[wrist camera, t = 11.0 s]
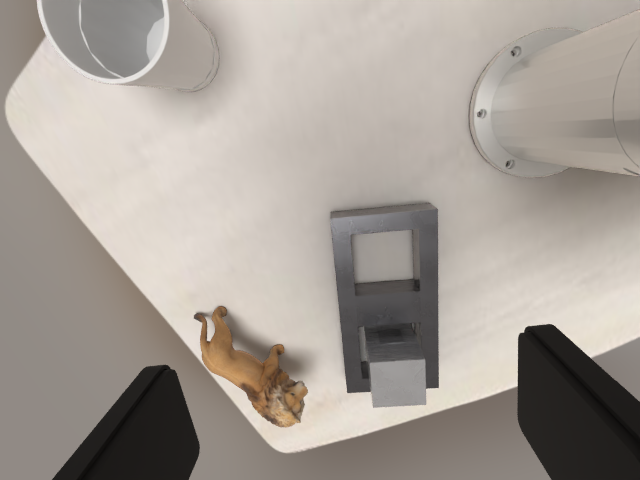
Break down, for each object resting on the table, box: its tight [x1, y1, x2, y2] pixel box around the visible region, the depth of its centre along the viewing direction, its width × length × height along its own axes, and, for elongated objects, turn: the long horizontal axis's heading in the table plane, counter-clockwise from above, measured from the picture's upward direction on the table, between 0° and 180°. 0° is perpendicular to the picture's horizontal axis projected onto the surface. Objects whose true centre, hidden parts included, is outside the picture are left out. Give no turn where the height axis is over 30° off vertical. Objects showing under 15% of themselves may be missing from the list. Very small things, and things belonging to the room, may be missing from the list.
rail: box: [331, 203, 439, 393], centre depth 37 cm, size 10×20×3 cm, turn 6°
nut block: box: [363, 323, 426, 408], centre depth 36 cm, size 5×5×8 cm
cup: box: [37, 0, 219, 92], centre depth 26 cm, size 8×8×12 cm
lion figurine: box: [194, 306, 308, 427], centre depth 37 cm, size 15×5×9 cm, turn 61°
